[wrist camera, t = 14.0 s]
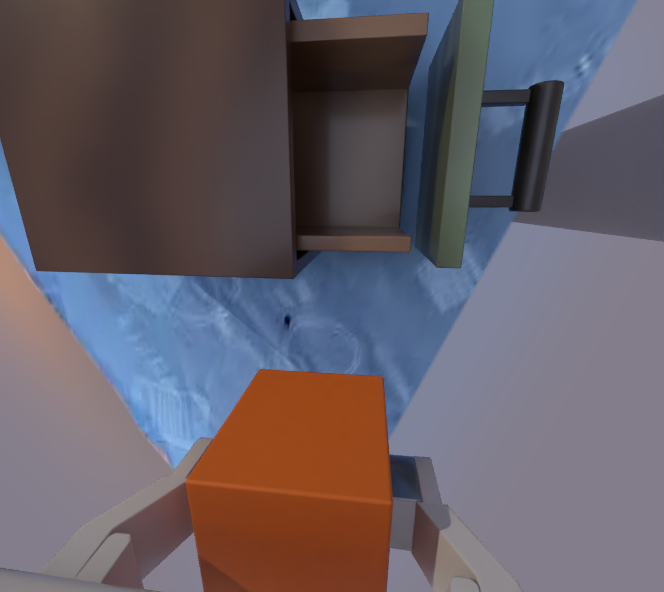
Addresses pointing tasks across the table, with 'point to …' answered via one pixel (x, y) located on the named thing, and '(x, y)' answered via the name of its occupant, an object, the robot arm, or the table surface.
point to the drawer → (402, 131)
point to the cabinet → (152, 135)
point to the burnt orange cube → (297, 488)
